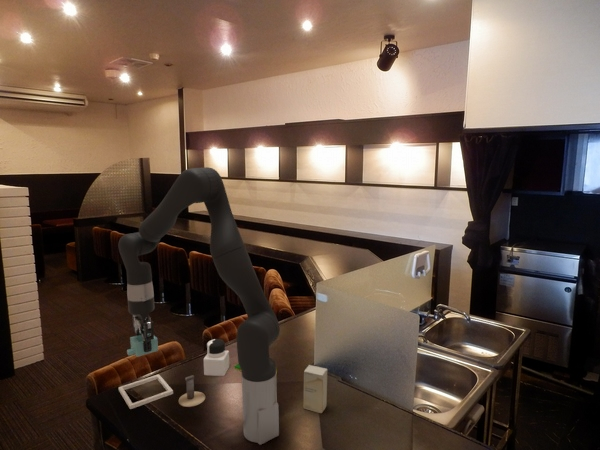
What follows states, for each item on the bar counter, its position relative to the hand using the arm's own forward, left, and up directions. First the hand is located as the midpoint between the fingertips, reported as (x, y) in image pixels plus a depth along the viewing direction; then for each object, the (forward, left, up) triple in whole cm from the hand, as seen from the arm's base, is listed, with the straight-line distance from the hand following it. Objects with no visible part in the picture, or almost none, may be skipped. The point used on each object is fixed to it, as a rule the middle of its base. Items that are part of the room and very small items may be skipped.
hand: (144, 347), depth 124 cm
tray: (0, 0, -16) cm, 16 cm away
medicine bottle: (-2, -24, -16) cm, 29 cm away
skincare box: (-39, -38, -16) cm, 57 cm away
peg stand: (-13, -10, -16) cm, 23 cm away
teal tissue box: (0, 0, -1) cm, 1 cm away
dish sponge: (-10, -35, -17) cm, 40 cm away
